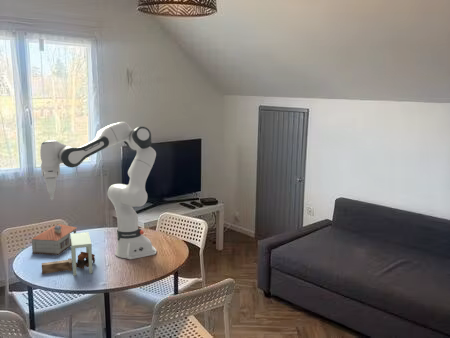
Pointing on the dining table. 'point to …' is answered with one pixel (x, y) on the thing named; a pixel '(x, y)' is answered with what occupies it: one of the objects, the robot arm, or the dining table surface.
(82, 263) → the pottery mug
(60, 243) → the model house
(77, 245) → the footstool
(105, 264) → the dining table surface
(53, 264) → the push stick
